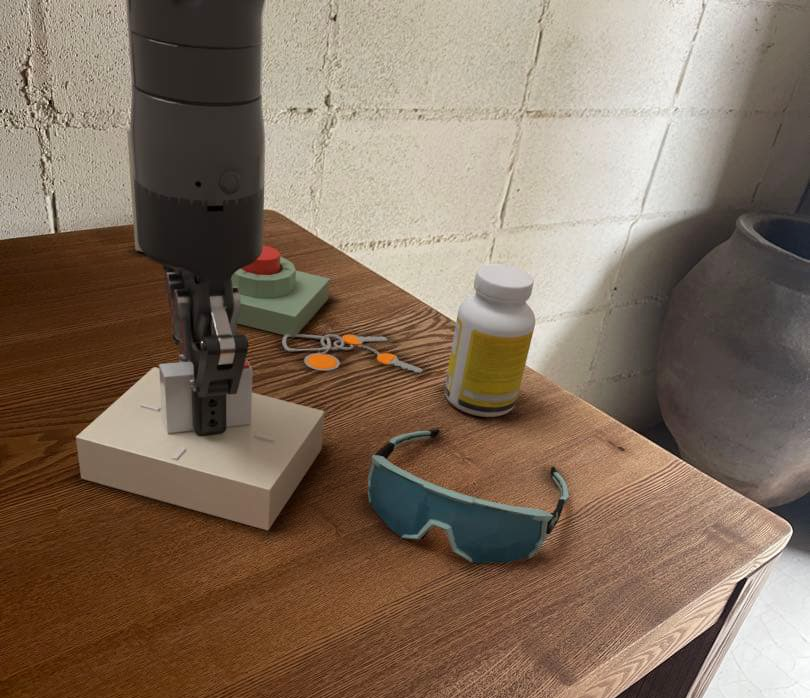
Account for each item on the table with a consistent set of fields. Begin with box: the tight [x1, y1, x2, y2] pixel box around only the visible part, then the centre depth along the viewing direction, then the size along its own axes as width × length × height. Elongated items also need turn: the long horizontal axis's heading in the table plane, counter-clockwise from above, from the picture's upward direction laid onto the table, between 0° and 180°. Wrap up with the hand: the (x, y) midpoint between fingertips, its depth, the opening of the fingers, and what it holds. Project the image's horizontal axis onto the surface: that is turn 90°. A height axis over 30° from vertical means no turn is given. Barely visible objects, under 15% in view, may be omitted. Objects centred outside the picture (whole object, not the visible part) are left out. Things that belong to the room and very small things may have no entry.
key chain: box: [281, 333, 423, 374], centre depth 80 cm, size 13×7×1 cm, turn 98°
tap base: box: [75, 366, 325, 531], centre depth 63 cm, size 14×11×4 cm
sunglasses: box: [367, 428, 570, 564], centre depth 63 cm, size 14×15×5 cm
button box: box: [231, 255, 331, 338], centre depth 84 cm, size 11×10×4 cm
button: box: [242, 245, 281, 275], centre depth 82 cm, size 4×4×2 cm
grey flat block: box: [158, 358, 253, 433], centre depth 60 cm, size 6×2×5 cm, turn 114°
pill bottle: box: [444, 263, 536, 418], centre depth 73 cm, size 6×6×12 cm
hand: (205, 422), depth 61 cm, fingers closed on grey flat block, 2 cm apart
